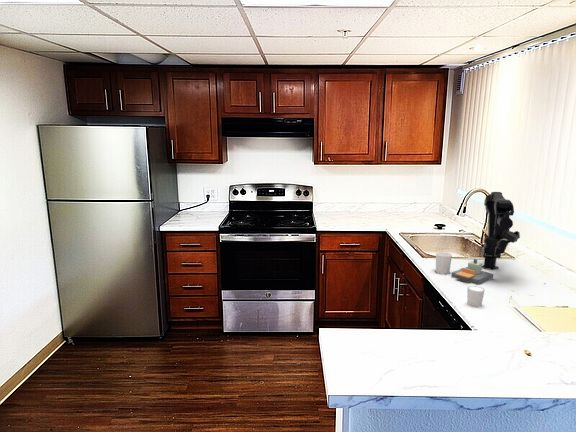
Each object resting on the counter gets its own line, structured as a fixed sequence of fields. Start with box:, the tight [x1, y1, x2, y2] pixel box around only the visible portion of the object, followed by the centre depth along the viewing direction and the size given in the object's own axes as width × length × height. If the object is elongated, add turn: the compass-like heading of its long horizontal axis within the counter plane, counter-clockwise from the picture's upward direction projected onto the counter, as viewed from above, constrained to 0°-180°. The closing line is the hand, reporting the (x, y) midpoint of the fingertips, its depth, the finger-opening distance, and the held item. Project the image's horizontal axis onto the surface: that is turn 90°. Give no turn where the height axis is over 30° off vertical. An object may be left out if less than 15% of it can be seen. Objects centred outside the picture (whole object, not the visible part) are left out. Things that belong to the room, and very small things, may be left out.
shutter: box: [455, 267, 475, 278], centre depth 202 cm, size 6×7×2 cm
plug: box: [467, 258, 483, 275], centre depth 207 cm, size 4×5×9 cm
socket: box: [450, 266, 494, 286], centre depth 206 cm, size 15×14×2 cm
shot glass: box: [466, 285, 485, 308], centre depth 174 cm, size 7×7×7 cm
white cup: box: [435, 251, 453, 275], centre depth 214 cm, size 8×8×10 cm
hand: (497, 254), depth 205 cm, fingers open, 9 cm apart
